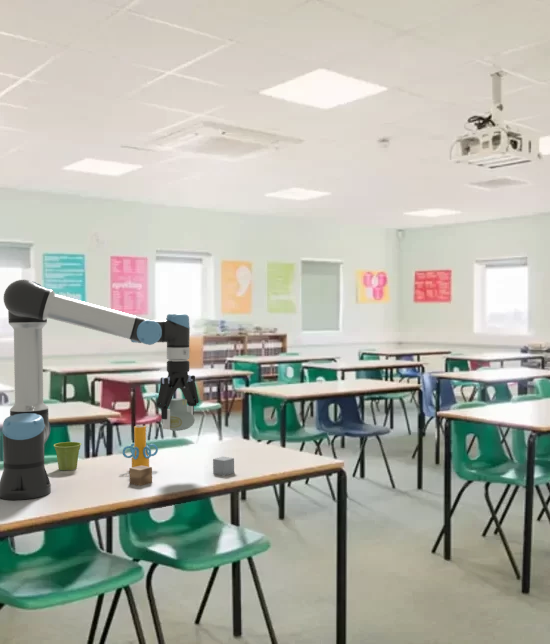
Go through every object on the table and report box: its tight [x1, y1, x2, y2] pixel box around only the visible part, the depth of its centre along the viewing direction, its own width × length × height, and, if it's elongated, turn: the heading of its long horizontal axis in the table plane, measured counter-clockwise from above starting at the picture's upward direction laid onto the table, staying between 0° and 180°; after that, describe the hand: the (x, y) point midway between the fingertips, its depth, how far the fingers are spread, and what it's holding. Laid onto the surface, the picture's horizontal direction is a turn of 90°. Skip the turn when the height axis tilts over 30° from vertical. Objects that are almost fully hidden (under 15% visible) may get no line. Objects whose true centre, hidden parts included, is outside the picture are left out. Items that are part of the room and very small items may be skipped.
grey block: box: [212, 456, 235, 476], centre depth 237 cm, size 5×5×5 cm
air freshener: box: [160, 398, 195, 432], centre depth 235 cm, size 11×8×10 cm
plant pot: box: [53, 441, 82, 471], centre depth 246 cm, size 9×9×9 cm
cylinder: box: [122, 425, 159, 468], centre depth 244 cm, size 12×10×15 cm
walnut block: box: [128, 465, 153, 487], centre depth 224 cm, size 5×5×5 cm
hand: (178, 426), depth 235 cm, fingers closed on air freshener, 10 cm apart
